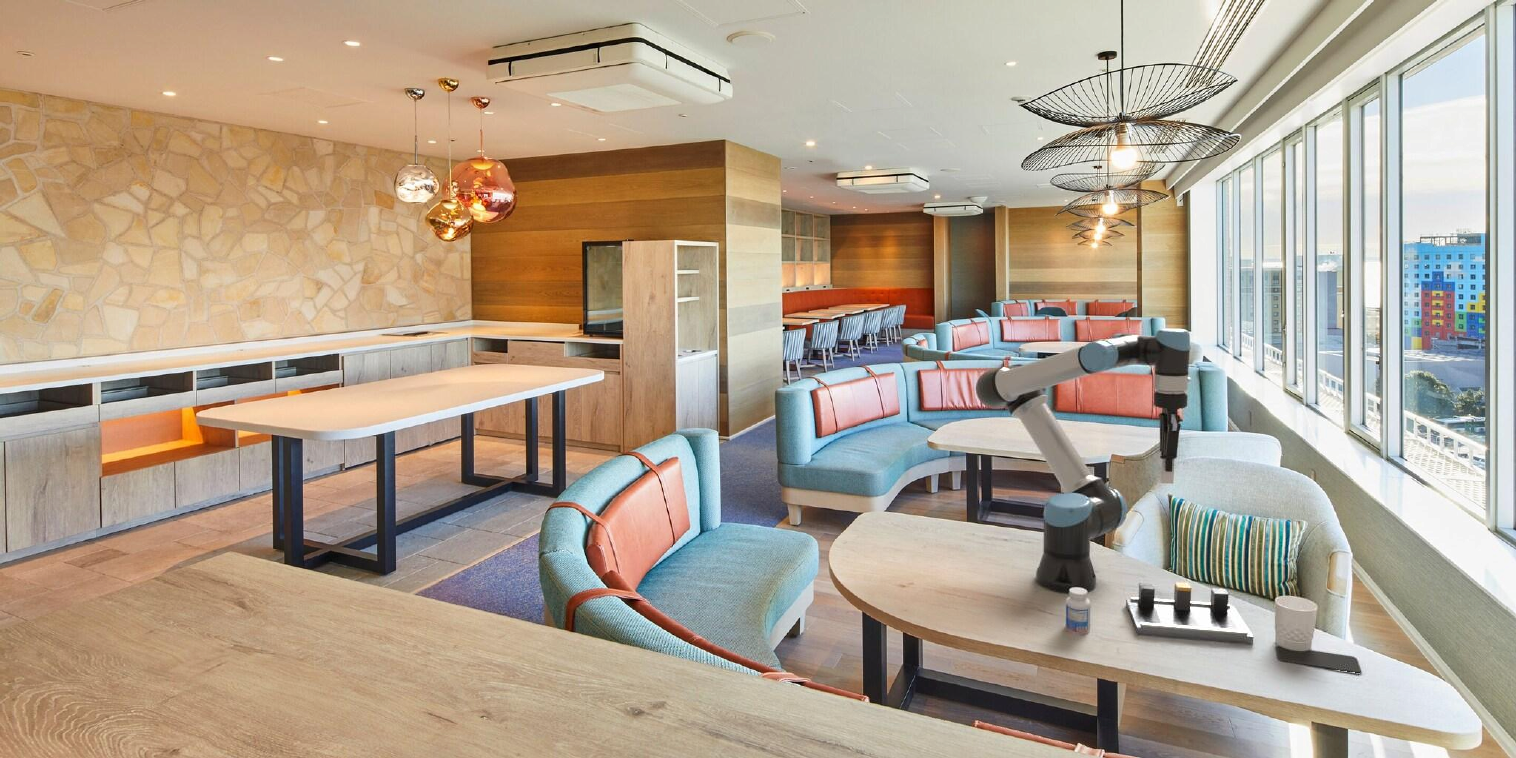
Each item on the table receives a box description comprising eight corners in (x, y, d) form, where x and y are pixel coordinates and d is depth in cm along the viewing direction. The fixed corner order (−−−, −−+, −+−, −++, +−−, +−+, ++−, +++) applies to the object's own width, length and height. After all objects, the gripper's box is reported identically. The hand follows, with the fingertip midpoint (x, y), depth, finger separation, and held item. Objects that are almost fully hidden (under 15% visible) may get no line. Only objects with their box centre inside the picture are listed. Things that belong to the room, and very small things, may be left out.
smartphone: (1274, 644, 184) (1356, 656, 177) (1274, 648, 184) (1356, 660, 177) (1277, 659, 178) (1362, 672, 170) (1277, 663, 178) (1362, 676, 171)
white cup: (1320, 655, 179) (1324, 611, 178) (1280, 652, 181) (1283, 609, 179) (1305, 638, 187) (1308, 596, 185) (1266, 635, 188) (1269, 594, 187)
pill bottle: (1071, 621, 199) (1072, 583, 197) (1093, 628, 195) (1095, 589, 194) (1061, 629, 195) (1062, 591, 194) (1083, 636, 191) (1084, 597, 190)
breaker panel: (1136, 635, 191) (1137, 607, 190) (1125, 605, 206) (1126, 579, 205) (1252, 644, 185) (1254, 615, 183) (1232, 613, 200) (1234, 586, 199)
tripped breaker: (1176, 609, 198) (1177, 587, 197) (1173, 604, 201) (1174, 582, 200) (1190, 610, 198) (1191, 588, 197) (1187, 605, 200) (1188, 583, 199)
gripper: (1193, 396, 197) (1189, 490, 201) (1181, 386, 210) (1177, 475, 214) (1159, 395, 199) (1155, 489, 203) (1149, 386, 212) (1145, 474, 216)
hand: (1166, 482), depth 208 cm, fingers closed
